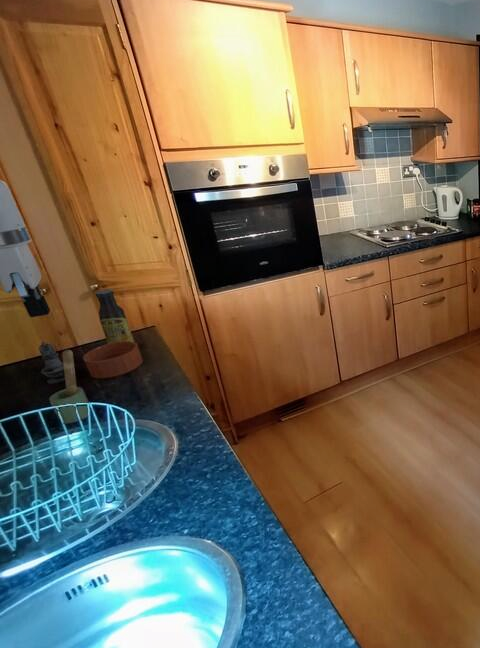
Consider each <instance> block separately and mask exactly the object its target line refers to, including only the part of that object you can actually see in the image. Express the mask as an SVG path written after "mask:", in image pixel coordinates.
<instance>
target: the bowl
mask: <svg viewBox="0 0 480 648" xmlns="http://www.w3.org/2000/svg"><path fill="white" fill-rule="evenodd" d="M82 361H83V363H84V365H85V368H86V370H87V372H88V374H89V376H90V377H91V378H95V379H107V378H108V379H109V378H114V377H118V376H122V375H124V374H127V373H130V372H131V371H134V370H135V369H137V368H138V367H141V365H142V363H144V357H143V356H142V353H141V350H140V348H139V345H138V343H137V342H135V341H134V342H132V341H121V342H114V343H110V344H108V343H106V344H103V345H100V346H97V347H95V348H93V349H91V350H89V351H88V352H86V353H85V354H84V355H83V356H82Z"/></svg>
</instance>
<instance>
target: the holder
mask: <svg viewBox="0 0 480 648" xmlns="http://www.w3.org/2000/svg"><path fill="white" fill-rule="evenodd" d="M48 401H49V402H50V404H51V407H52V406H59V405H66V404H76V403H89V404H90V401H89V399H88V397H87V395H86V393H85V391H84V389H83V387H81V386H77V393H75V394H74V395H72V396H70V397H67V390H66V388H64V389H61V390H59V391H57V392H55V393H53V394H52V395H50V396H49V398H48ZM53 410H54V413H55V414H56V417H57V419H58V420H59V417H58V411H59V412H60V414H61V416H62V418H63V420H64V422H65V423H64V424H73V423H76V422H77V423H78V422H79V421H78V419H77V415H76V407H75V406H69V407H62V408H60V409H59V410H57V409H53ZM77 410H78V413H79V415H80V417H81V419H82V420H85V419H86V418H87V417H89V416H88V408H87V406H78V407H77ZM59 422H60V420H59Z"/></svg>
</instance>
